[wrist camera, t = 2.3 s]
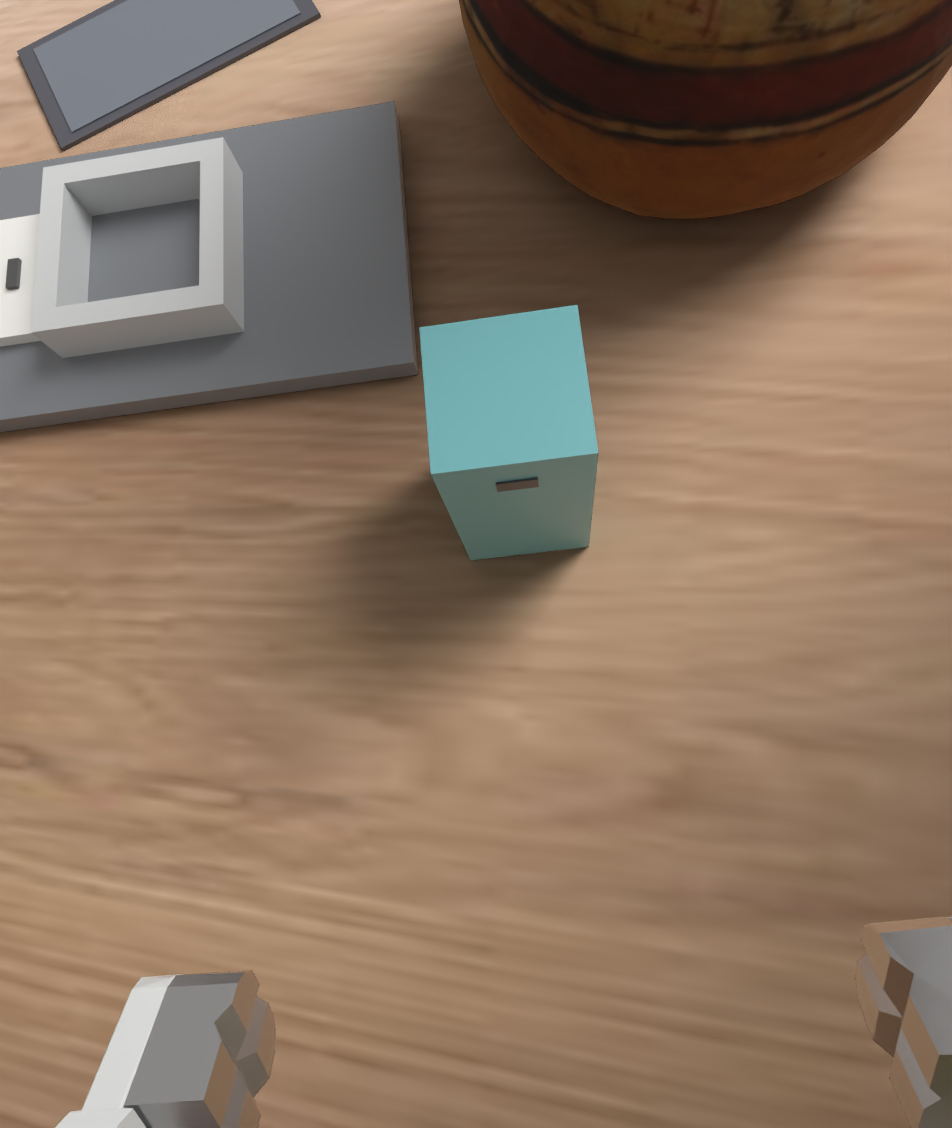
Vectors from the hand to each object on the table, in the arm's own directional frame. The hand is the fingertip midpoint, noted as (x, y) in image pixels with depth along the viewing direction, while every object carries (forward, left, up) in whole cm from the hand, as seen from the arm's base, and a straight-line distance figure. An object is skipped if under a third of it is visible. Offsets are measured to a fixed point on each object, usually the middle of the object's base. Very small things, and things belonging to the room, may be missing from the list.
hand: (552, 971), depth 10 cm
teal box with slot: (-5, -12, -17) cm, 21 cm away
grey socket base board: (+4, -29, -17) cm, 34 cm away
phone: (-1, -42, -17) cm, 45 cm away
